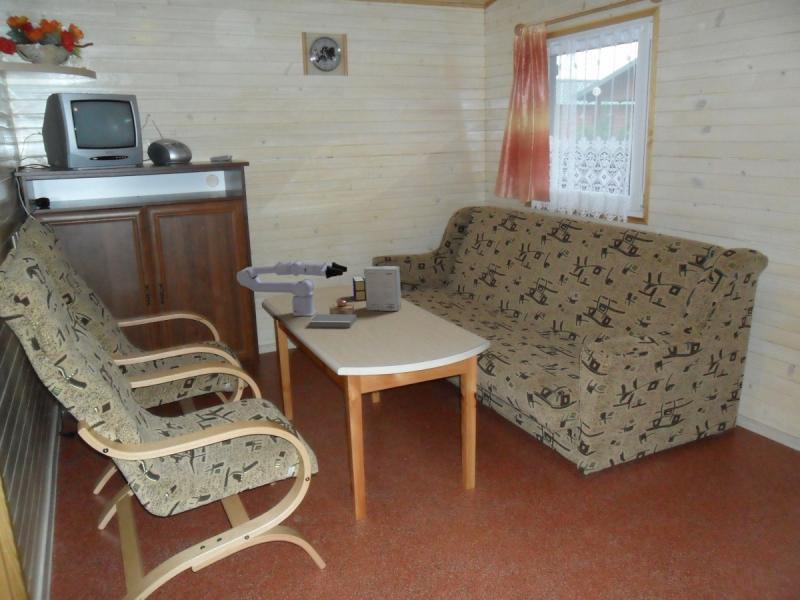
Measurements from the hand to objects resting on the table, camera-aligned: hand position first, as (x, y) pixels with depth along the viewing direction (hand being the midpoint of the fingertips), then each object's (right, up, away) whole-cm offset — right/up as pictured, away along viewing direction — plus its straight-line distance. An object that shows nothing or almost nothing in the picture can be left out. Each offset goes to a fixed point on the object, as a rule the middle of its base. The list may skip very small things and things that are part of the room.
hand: (344, 271), depth 293 cm
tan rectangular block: (-1, -21, +3) cm, 21 cm away
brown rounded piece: (-2, -16, +2) cm, 16 cm away
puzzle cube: (+7, -12, +35) cm, 38 cm away
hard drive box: (+17, -18, +13) cm, 28 cm away
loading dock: (-4, -24, -8) cm, 25 cm away
